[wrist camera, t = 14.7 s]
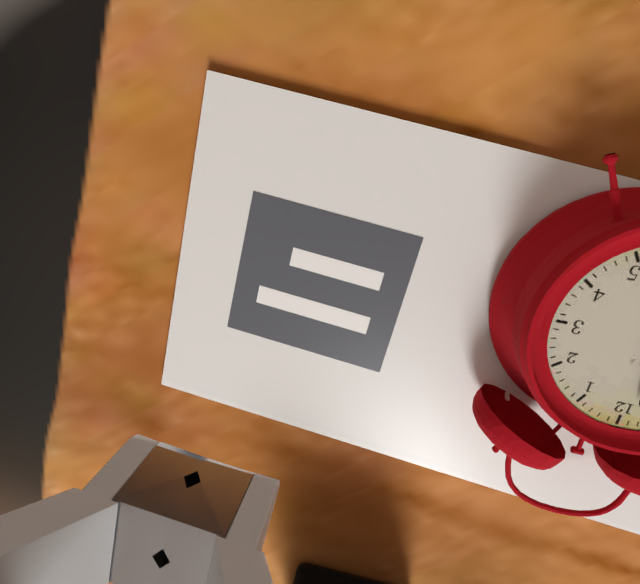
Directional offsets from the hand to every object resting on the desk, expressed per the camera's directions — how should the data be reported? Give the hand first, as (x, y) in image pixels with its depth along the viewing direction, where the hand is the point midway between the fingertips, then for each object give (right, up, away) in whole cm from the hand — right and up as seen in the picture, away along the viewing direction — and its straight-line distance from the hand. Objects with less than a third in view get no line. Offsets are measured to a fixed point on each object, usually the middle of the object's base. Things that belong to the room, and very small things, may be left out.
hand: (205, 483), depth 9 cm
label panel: (+10, +2, +13) cm, 16 cm away
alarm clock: (+15, +2, +12) cm, 19 cm away
